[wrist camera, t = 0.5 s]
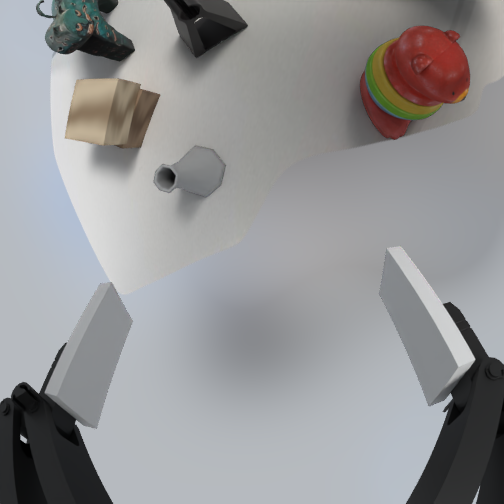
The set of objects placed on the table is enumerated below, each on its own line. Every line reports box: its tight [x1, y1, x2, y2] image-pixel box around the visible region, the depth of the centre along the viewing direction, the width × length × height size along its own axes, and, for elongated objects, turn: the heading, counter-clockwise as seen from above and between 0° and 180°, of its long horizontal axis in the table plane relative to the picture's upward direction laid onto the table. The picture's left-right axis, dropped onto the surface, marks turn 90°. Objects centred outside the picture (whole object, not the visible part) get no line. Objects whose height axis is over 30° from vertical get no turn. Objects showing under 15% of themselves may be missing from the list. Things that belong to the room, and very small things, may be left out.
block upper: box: [65, 79, 141, 146], centre depth 30 cm, size 9×9×5 cm
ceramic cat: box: [36, 0, 135, 61], centre depth 22 cm, size 20×6×20 cm, turn 22°
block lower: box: [115, 89, 160, 148], centre depth 35 cm, size 9×9×5 cm
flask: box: [154, 146, 225, 197], centre depth 33 cm, size 7×7×10 cm
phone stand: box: [164, 0, 248, 58], centre depth 24 cm, size 9×6×12 cm, turn 120°
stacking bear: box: [360, 26, 470, 140], centre depth 20 cm, size 11×10×18 cm
